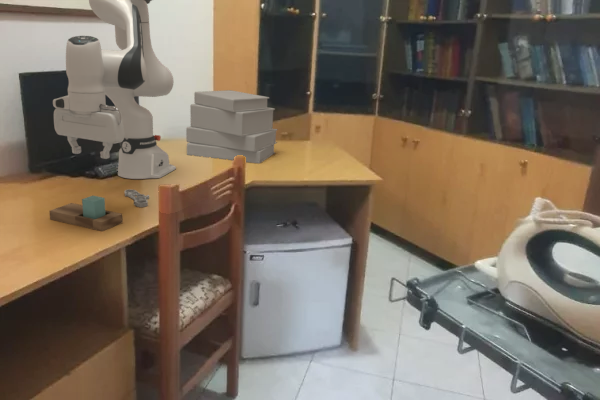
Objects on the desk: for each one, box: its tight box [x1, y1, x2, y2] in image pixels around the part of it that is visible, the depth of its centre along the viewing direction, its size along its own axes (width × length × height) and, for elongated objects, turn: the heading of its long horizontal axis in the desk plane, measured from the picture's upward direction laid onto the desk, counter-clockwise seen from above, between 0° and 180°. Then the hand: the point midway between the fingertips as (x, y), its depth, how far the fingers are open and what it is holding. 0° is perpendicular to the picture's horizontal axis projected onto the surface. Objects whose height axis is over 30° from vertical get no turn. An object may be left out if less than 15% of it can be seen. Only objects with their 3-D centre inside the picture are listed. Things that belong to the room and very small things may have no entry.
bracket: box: [124, 189, 150, 208], centre depth 168 cm, size 8×2×15 cm
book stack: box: [185, 89, 278, 164], centre depth 231 cm, size 30×35×26 cm
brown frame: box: [48, 202, 124, 232], centre depth 148 cm, size 8×18×2 cm, turn 67°
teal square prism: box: [81, 195, 106, 219], centre depth 147 cm, size 4×4×7 cm
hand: (90, 155), depth 142 cm, fingers open, 8 cm apart
